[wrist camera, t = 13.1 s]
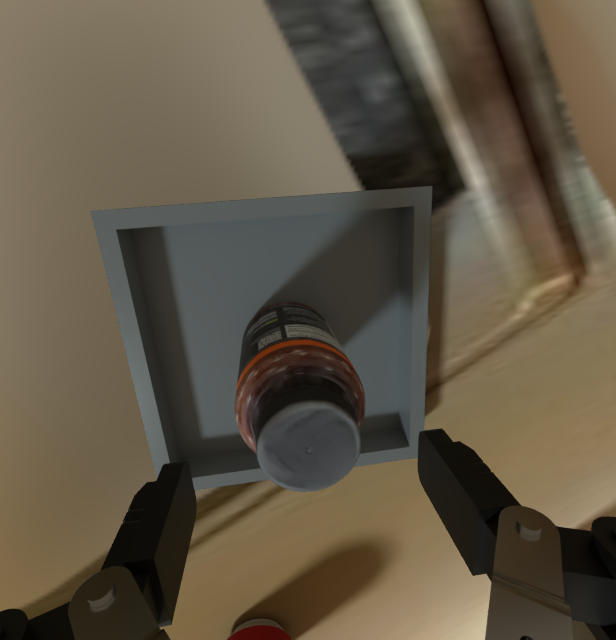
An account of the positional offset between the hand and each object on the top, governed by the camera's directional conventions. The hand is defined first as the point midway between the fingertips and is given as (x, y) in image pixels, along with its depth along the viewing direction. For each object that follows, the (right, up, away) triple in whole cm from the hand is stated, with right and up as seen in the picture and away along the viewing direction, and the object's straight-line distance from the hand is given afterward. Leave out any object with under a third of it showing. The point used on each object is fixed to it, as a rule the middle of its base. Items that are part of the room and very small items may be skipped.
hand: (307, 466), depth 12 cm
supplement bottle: (-1, +4, +12) cm, 12 cm away
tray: (-2, +4, +12) cm, 13 cm away
